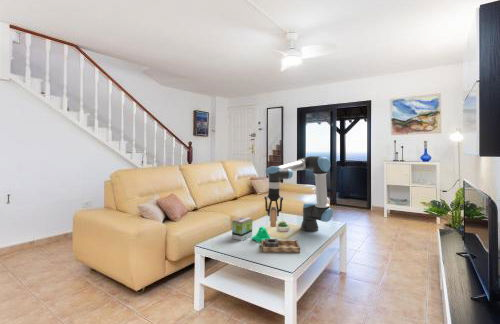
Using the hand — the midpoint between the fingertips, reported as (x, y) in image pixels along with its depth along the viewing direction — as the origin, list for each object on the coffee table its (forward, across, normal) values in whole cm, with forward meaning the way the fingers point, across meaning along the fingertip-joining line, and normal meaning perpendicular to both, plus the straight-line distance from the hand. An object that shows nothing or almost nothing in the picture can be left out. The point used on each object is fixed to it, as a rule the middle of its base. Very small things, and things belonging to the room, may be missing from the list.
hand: (273, 220), depth 185 cm
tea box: (+20, +23, -22) cm, 37 cm away
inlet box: (+20, -5, +1) cm, 20 cm away
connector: (+4, 0, 0) cm, 4 cm away
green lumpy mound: (+20, +8, -15) cm, 26 cm away
